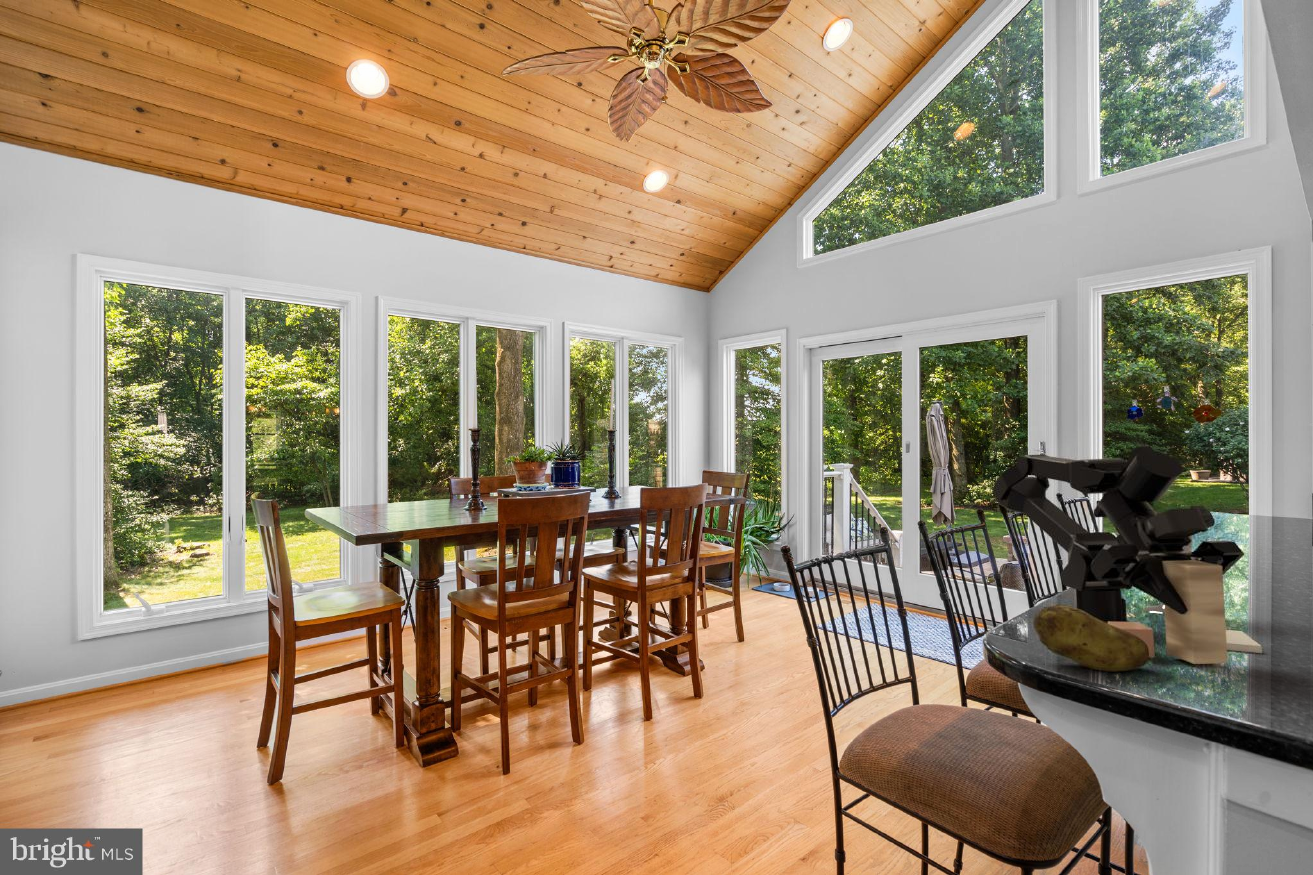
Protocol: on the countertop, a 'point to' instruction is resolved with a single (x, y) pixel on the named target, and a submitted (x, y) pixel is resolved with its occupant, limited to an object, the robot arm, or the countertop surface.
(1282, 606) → the countertop surface
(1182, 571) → the beech block
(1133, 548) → the robot arm
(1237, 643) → the stone tile
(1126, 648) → the potato
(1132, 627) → the terracotta cube
